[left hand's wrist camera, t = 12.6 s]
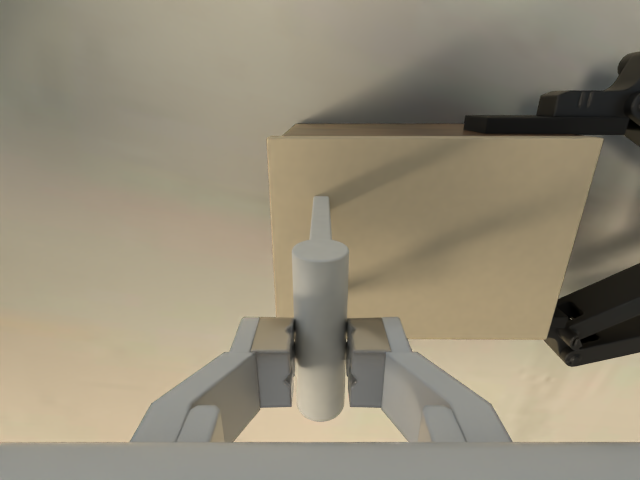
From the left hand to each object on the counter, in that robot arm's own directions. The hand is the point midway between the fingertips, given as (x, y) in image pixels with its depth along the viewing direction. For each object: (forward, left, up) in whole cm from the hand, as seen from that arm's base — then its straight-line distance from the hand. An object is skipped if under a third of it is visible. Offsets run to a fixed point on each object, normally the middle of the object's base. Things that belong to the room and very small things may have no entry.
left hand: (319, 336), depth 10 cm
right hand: (+4, -7, -10) cm, 12 cm away
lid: (+3, -4, -7) cm, 9 cm away
